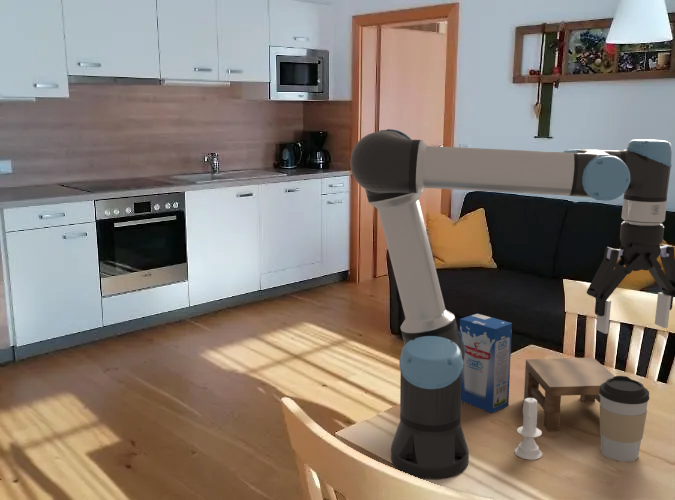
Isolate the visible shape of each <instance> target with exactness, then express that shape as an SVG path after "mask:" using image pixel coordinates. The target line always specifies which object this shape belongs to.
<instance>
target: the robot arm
mask: <svg viewBox="0 0 675 500" xmlns="http://www.w3.org/2000/svg"><path fill="white" fill-rule="evenodd" d="M672 150H673V146H672V144H671V142H669V141H667V140H663V139H632V140H630V141H629V143H628V146H627V148H626V149H621V150H611V149H610V150H609V149H583V148H577V149H566V150H564V151H561V152H560V151H543V150H542V151H541V150H539V151H538V150H521V149H519V150H518V149H503V148H501V149H500V148H499V149H498V148H479V147H457V146H438V145H437V146H436V145H434V146H433V145H428V144H427V143H426V141H424V140H422V139H411V137H410V136H408V135H407V133H404V132H403V131H400V130H397V129H391V128H387V129H380V130H378V131H375V132H374V131H373V132H371V133H369V134H367V135H365V136H363V137H361V139H359V141H358V142H357V143H355V145H354V147H353V149H352V151H351V156H350V159H349V160H350V162H349V163H350V170H351V171H350V172H351V173H352V176H353V177H354V179H355V181H356V183H358V184H359V186H361V187H362V188H363V189H364V190H365V193H366V197H367V201H368V204H369V205H371V206H372V207H374V208H376V209H377V211H378V215H379V217H380V218H379V219H380V222H381V226H382V230H383V233H384V239H385V243H386V247H387V251H388V254H389V259H390V261H391V266H392V270H393V275H394V278H395V281H396V286H397V290H398V294H399V299H400V302H401V307H402V309H403V314H404V320H403V322H402V324H401V325H400V331H401V336H402V339H403V344H404V345H403V346H402V349H401V352H400V358H399V371H400V378H399V380H400V382H399V383H400V391H399V392H400V393H399V394H400V395H399V397H400V401H399V402H400V405H399V408H400V409H399V413H400V414H399V422H398V426H397V428H396V431H395V434H394V437H393V440H392V443H391V447H390V460H391V463H392V464H393V465H394V466H395V468H397V470H399V471H400V472H402V471H404V472H406V473H409V474H411V475H410V476H412V475H414V476H413V477H415V476H417V477H416V478H420V479H426V480H427V479H428V480H438V479H446V478H450V477H455V476H457V475H460V473H462V472H464V471H465V470H466V469H467V467H468V466H469V461H470V459H469V457H470V454H469V453H470V452H469V451H470V450H469V446H468V444H467V441H466V438H465V434H464V430H463V428H462V424H461V417H462V416H461V415H462V412H461V411H462V401H461V384H462V371H463V361H464V357H465V345H464V341H463V338H462V337H461V334H460V330H459V329H458V324H457V320H456V316H455V314H454V313H452V312H451V311H449V310H447V309H446V306H445V301H444V297H443V293H442V290H441V286H440V285H441V284H440V282H439V281H440V280H439V277H438V273H437V269H436V265H435V260H434V256H433V251H432V248H431V245H430V239H429V235H428V231H427V228H426V223H425V218H424V215H423V210H422V207H421V203H420V197H421V195H422V194H423V191H424V190H425V189H439V190H440V189H441V190H453V191H455V190H458V191H472V192H473V191H474V192H475V191H476V192H477V191H478V192H492V193H494V192H496V193H509V194H510V193H513V194H530V195H549V196H550V195H551V196H565V197H566V196H567V197H577V198H591V199H594V200H596V201H603V202H607V201H608V202H609V201H613V200H616V199H618V198H620V197H621V196H623V200H622V201H623V202H622V208H621V210H622V211H621V219H622V220H624V221H622V222H621V224H620V230H619V233H620V234H619V240H620V247H619V249H618V248H612V247H609V246H607V247H605V250H604V256H603V259H602V261H601V263H600V265H599V267H598V269H597V270H596V272H595V275H594V277H593V278H592V281H591V282H590V284H589V286H588V288H587V290H586V294H587V295H588V296H591V297H592V298H595V305H594V314H595V315H596V324H595V325H596V327H595V329H596V330H597V331H598V332H601V333H602V334H605V335H606V334H609V329H610V328H609V325H610V316H611V308H612V300H610V299H609V298H610V297H611V295H612V294H613V293H614V291H615V290H616V289H617V287H619V285H620V284H621V283H622V282H623V281H624V279H625V278H626V277H627V276H628V275H630V274H631V273H632V272H638V271H639V272H640V271H648V272H649V274H650V275H651V277H652V278H653V280H654V281H655V282H656V284H657V285H658V287H659V289H660V290H661V292H657V301H656V307H655V319H654V325H656V326H658V327H660V328H663V329H667V328H668V327H669V319H670V311H672V309H673V304H674V303H673V302H674V297H675V247H674V246H673V245H668V244H665V243H663V242H664V234H665V233H664V232H665V226H664V224H663V223H664V222H665V220H666V212H667V204H668V203H667V202H668V201H667V200H668V199H667V198H668V192H669V184H670V174H671V169H672V153H673V151H672ZM658 258H660V261H661V264H662V266H661V264H660V262H659V261H658ZM662 267H663V268H662ZM663 270H664V271H663ZM404 472H403V473H404ZM406 473H405V474H406ZM409 474H408V475H409Z"/></svg>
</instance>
